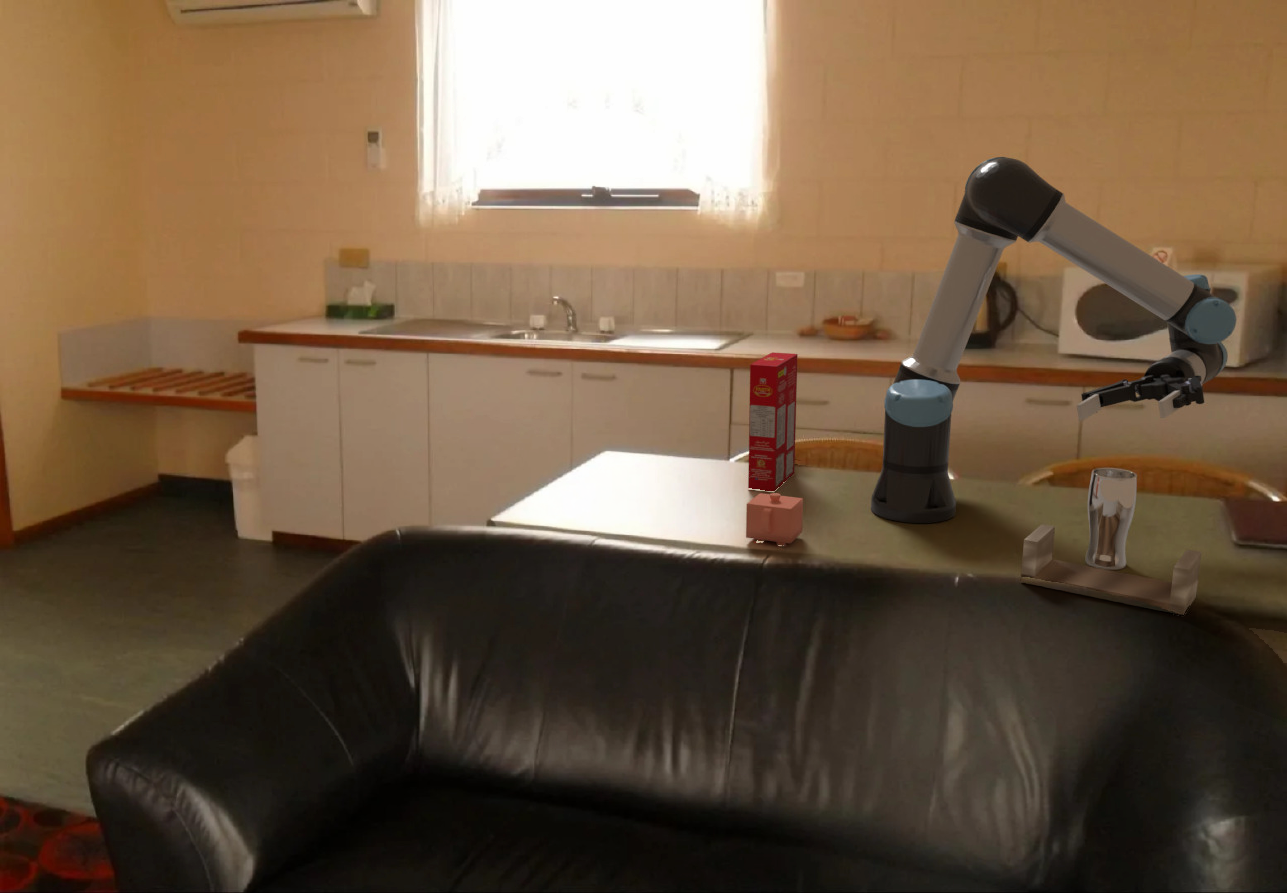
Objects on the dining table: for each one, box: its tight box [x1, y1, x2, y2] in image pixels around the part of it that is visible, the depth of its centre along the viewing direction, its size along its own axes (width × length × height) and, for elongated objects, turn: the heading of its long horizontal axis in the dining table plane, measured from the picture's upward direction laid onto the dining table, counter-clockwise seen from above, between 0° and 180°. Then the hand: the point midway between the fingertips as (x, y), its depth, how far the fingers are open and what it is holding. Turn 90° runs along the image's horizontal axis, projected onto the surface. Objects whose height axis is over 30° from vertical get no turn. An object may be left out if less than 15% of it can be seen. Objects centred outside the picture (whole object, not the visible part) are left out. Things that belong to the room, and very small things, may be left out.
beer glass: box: [1084, 467, 1138, 571], centre depth 180 cm, size 7×7×15 cm
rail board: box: [1020, 523, 1202, 616], centre depth 170 cm, size 23×9×7 cm, turn 55°
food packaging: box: [747, 352, 799, 491], centre depth 225 cm, size 15×5×25 cm, turn 157°
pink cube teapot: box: [745, 492, 804, 546], centre depth 193 cm, size 8×12×8 cm, turn 155°
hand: (1119, 411), depth 184 cm, fingers open, 13 cm apart
